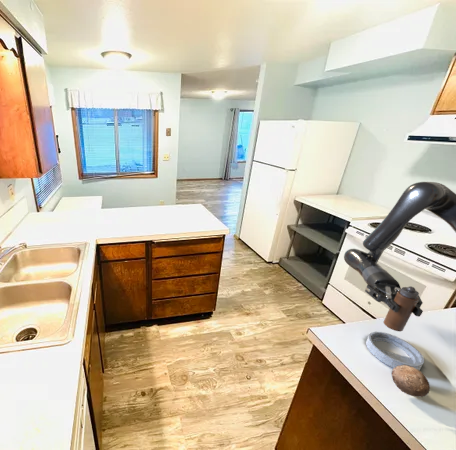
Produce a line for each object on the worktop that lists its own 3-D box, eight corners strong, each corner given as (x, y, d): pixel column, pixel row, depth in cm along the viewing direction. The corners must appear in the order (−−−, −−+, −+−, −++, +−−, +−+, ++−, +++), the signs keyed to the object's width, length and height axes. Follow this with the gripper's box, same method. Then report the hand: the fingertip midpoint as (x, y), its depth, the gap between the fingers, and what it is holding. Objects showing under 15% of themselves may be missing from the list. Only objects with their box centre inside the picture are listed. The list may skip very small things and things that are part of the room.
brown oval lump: (393, 357, 74) (408, 358, 68) (422, 380, 70) (441, 383, 65) (379, 377, 72) (394, 379, 67) (408, 402, 69) (426, 407, 63)
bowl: (403, 345, 83) (407, 337, 82) (430, 379, 72) (435, 371, 70) (358, 335, 87) (361, 327, 86) (376, 366, 75) (380, 358, 74)
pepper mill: (397, 322, 77) (417, 284, 72) (406, 333, 73) (427, 293, 68) (380, 319, 79) (398, 281, 73) (387, 329, 74) (407, 289, 69)
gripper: (359, 267, 86) (383, 296, 71) (408, 275, 82) (445, 307, 67) (352, 285, 89) (374, 316, 74) (400, 293, 85) (433, 328, 70)
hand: (408, 311), depth 71 cm, fingers closed on pepper mill, 4 cm apart
